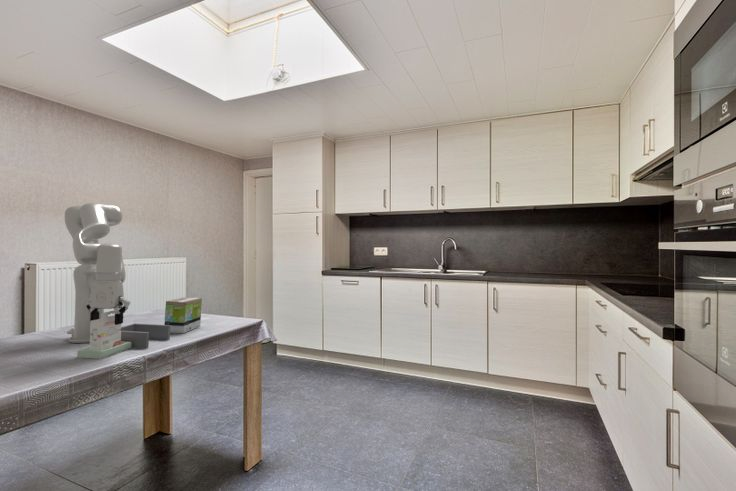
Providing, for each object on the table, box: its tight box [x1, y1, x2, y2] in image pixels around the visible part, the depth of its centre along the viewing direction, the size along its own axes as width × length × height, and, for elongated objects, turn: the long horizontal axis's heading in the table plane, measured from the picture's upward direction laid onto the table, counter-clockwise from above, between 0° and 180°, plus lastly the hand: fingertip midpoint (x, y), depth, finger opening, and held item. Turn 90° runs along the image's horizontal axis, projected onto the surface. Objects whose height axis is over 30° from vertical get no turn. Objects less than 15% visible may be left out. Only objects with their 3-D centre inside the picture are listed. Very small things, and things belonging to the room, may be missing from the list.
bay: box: [121, 323, 171, 349], centre depth 141 cm, size 16×14×6 cm
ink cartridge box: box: [89, 308, 122, 351], centre depth 127 cm, size 9×5×15 cm, turn 171°
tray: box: [76, 341, 132, 360], centre depth 127 cm, size 10×13×2 cm
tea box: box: [163, 296, 203, 334], centre depth 165 cm, size 15×10×15 cm
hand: (106, 323), depth 127 cm, fingers open, 9 cm apart
